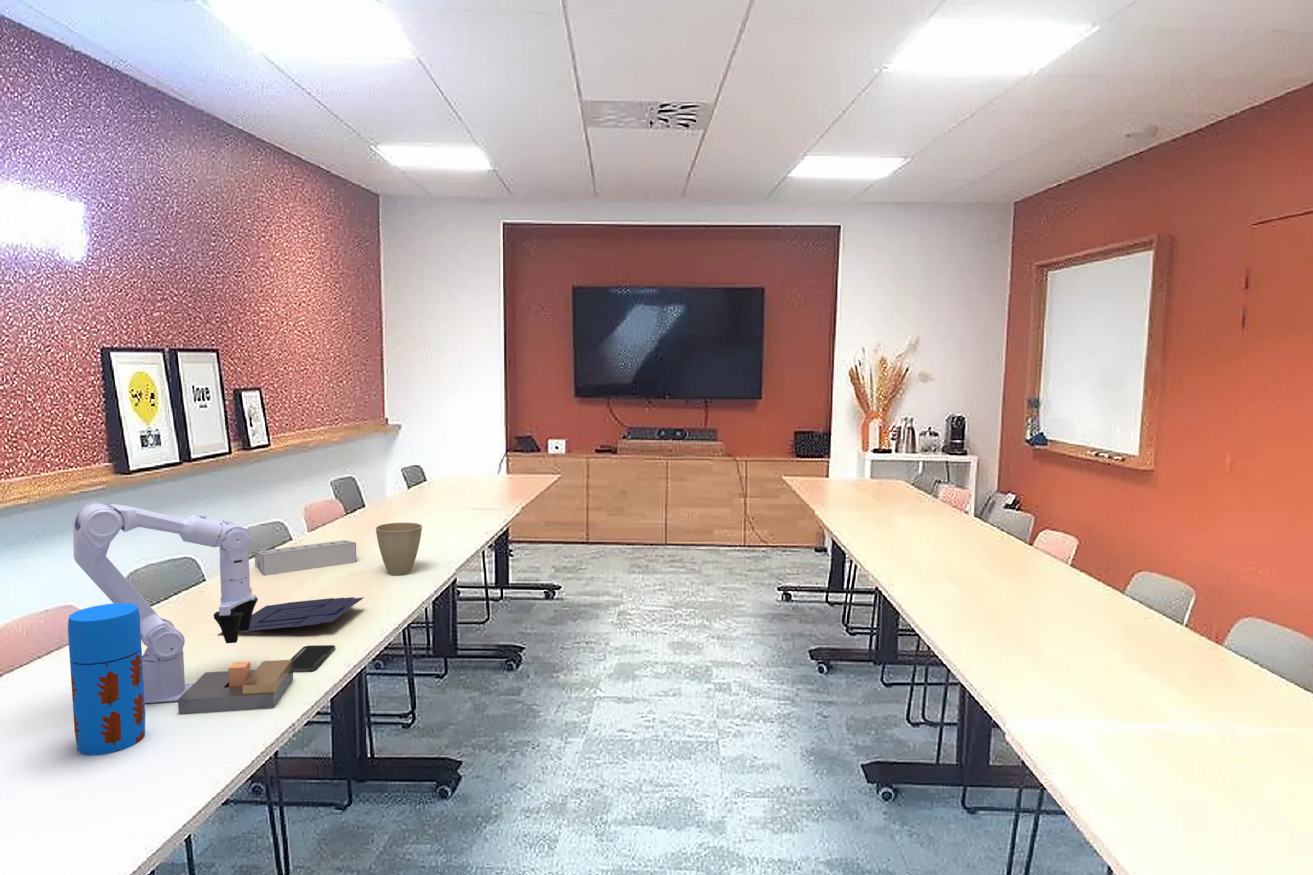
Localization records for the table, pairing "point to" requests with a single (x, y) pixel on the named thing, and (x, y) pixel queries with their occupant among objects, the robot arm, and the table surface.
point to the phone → (311, 657)
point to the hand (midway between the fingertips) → (237, 636)
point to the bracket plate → (238, 690)
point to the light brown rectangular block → (239, 673)
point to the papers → (300, 613)
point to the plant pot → (399, 546)
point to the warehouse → (305, 557)
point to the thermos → (107, 678)
